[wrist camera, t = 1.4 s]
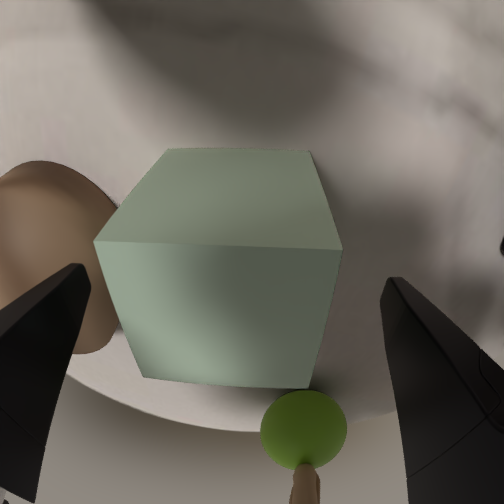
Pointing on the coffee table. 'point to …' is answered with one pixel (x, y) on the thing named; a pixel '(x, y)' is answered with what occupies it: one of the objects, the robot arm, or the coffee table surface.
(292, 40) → the coffee table surface
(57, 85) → the coffee table surface
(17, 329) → the robot arm
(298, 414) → the snail figurine
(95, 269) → the walnut base
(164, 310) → the sage block
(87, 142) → the coffee table surface
